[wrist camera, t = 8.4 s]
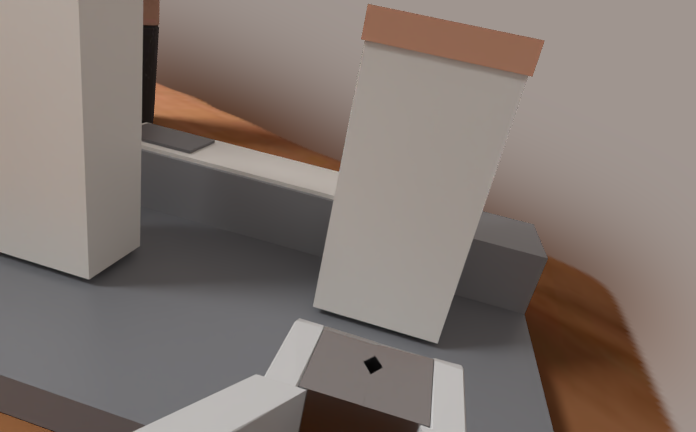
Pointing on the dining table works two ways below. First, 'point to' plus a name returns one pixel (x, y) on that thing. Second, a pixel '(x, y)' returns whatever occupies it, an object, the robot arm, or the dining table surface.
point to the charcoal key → (70, 131)
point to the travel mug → (149, 58)
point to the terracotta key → (418, 166)
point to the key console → (240, 300)
